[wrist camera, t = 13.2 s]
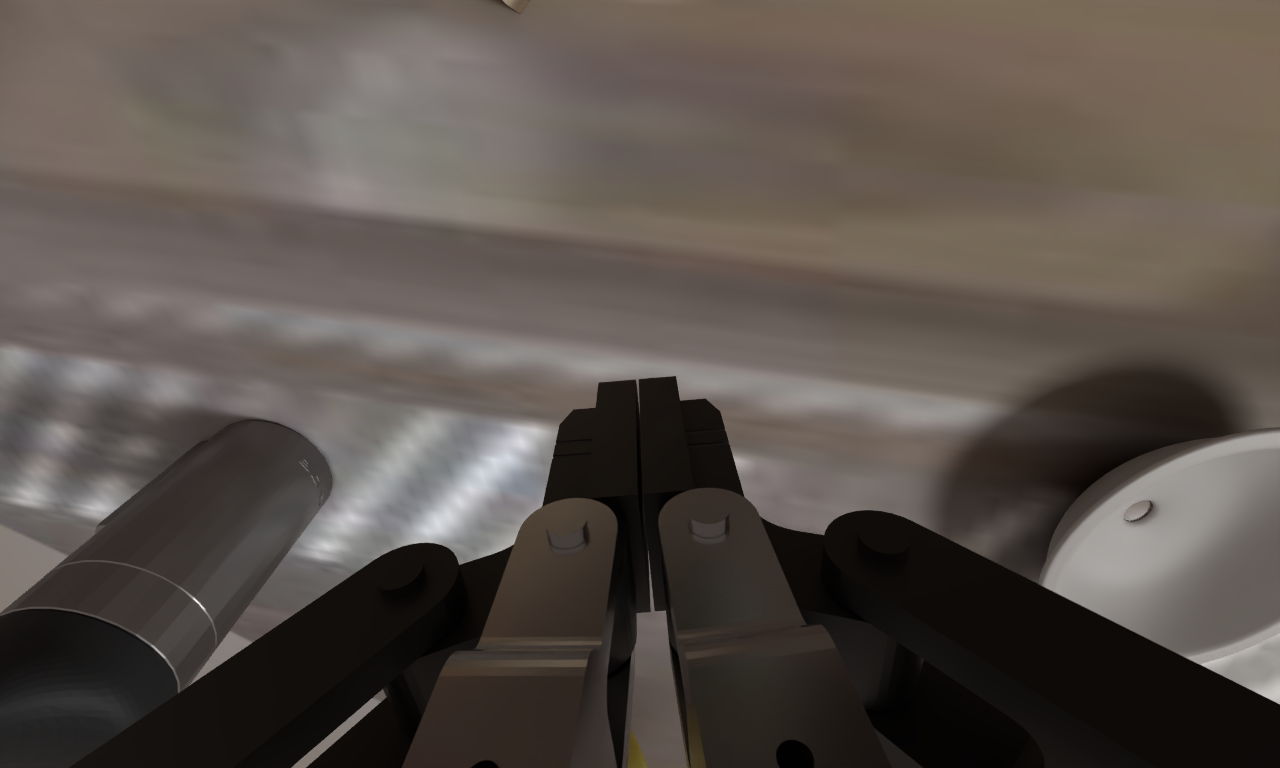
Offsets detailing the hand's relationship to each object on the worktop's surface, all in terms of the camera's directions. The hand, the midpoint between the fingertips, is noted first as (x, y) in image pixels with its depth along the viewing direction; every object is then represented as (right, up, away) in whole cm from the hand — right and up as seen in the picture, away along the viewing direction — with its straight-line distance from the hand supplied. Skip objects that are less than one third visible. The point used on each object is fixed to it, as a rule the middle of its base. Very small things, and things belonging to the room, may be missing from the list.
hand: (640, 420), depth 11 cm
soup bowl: (+42, -10, +37) cm, 56 cm away
